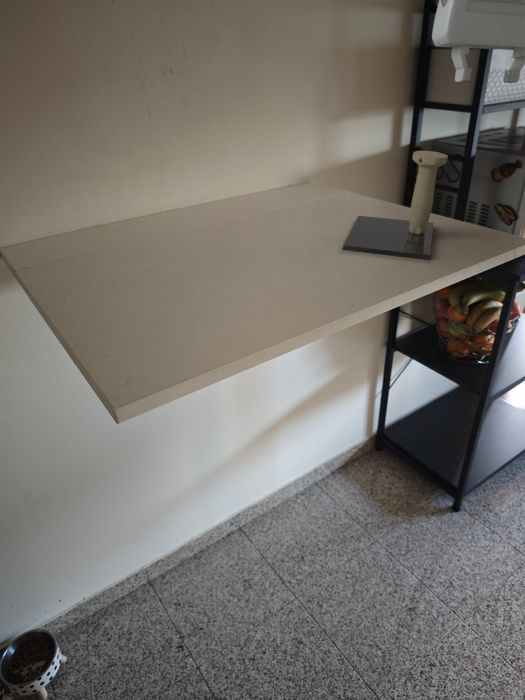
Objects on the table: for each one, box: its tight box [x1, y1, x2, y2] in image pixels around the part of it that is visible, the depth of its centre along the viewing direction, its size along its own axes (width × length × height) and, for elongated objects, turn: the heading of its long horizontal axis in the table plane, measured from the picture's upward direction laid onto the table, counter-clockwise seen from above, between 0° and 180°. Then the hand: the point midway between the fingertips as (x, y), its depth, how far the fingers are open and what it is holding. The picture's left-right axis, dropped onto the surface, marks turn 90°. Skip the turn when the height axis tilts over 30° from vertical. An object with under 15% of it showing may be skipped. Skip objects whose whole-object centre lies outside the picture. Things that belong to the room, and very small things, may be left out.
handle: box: [409, 150, 449, 235], centre depth 96 cm, size 5×6×15 cm
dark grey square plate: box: [342, 215, 435, 261], centre depth 100 cm, size 16×18×1 cm
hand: (486, 82), depth 77 cm, fingers open, 8 cm apart
